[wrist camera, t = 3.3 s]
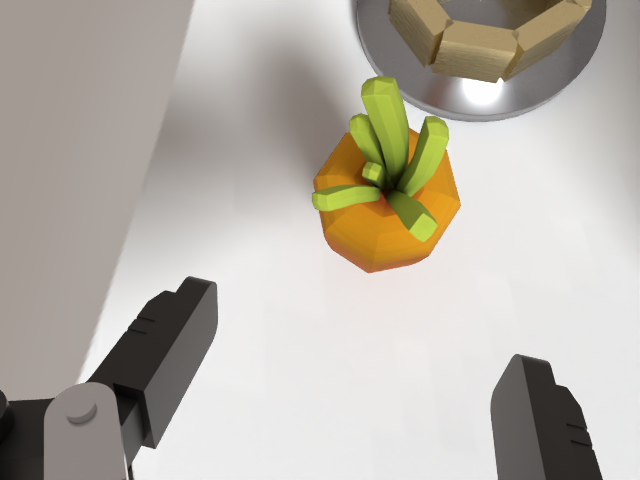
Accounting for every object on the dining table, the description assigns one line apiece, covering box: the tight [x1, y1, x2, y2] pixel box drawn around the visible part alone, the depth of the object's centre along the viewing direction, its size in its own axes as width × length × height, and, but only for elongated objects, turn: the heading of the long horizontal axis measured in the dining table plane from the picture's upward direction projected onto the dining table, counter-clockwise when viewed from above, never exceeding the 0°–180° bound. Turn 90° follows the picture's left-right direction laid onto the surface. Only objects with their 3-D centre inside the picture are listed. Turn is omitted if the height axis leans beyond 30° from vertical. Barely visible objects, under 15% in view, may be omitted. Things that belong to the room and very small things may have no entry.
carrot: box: [312, 76, 461, 273], centre depth 18 cm, size 5×5×15 cm
